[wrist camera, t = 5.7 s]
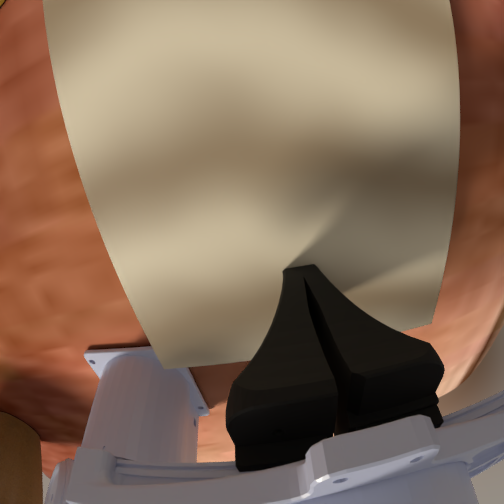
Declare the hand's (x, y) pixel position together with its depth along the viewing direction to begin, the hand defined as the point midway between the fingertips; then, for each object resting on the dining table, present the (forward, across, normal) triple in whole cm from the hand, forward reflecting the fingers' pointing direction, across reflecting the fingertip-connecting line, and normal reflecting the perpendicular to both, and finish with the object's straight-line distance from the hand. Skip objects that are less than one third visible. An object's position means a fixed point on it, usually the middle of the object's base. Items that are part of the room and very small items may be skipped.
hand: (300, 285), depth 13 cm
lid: (+2, 0, -4) cm, 5 cm away
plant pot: (+5, +39, +23) cm, 46 cm away
